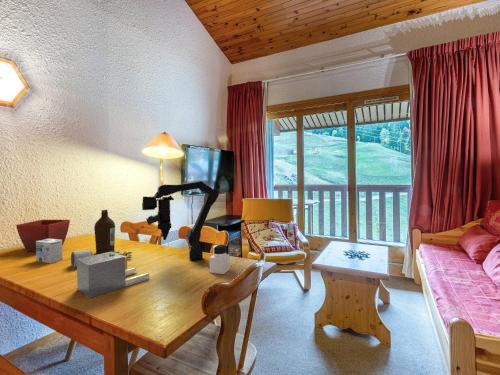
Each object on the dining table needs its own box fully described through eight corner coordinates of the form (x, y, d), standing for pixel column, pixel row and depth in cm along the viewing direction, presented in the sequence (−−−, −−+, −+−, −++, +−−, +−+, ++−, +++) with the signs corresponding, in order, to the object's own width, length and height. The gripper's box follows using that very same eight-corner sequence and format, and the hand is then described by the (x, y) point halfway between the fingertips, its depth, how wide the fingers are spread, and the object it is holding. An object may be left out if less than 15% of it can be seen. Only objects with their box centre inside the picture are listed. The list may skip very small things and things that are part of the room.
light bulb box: (35, 261, 134) (35, 241, 134) (49, 257, 141) (48, 238, 140) (50, 263, 131) (49, 242, 131) (63, 259, 138) (62, 239, 137)
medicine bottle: (230, 269, 121) (229, 244, 121) (223, 274, 114) (223, 247, 114) (216, 267, 123) (216, 242, 123) (209, 272, 117) (209, 246, 116)
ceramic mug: (93, 264, 128) (93, 249, 128) (74, 269, 122) (74, 253, 122) (87, 260, 135) (86, 246, 135) (68, 264, 129) (68, 249, 129)
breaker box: (135, 272, 117) (134, 245, 117) (149, 278, 110) (148, 249, 109) (77, 289, 99) (76, 257, 99) (89, 298, 92) (88, 263, 91)
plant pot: (48, 253, 149) (47, 224, 148) (15, 253, 149) (14, 224, 149) (71, 245, 168) (70, 219, 167) (42, 245, 168) (42, 219, 168)
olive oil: (92, 255, 144) (90, 211, 144) (98, 250, 155) (97, 209, 154) (112, 254, 147) (111, 210, 146) (117, 249, 157) (117, 208, 156)
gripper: (148, 208, 135) (148, 237, 136) (145, 212, 118) (146, 245, 118) (170, 207, 139) (170, 235, 140) (171, 211, 121) (171, 243, 122)
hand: (164, 239), depth 130 cm, fingers closed
